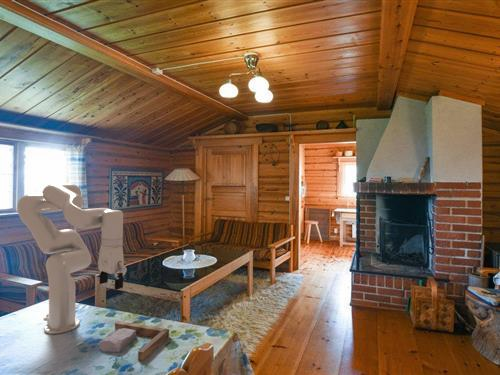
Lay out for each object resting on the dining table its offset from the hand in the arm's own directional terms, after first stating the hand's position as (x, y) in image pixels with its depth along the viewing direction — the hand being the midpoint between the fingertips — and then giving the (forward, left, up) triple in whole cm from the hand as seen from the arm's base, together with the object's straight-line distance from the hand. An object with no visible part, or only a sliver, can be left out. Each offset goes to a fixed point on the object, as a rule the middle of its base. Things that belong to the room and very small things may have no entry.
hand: (111, 285), depth 117 cm
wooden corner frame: (+8, 0, -21) cm, 23 cm away
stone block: (+4, -1, -22) cm, 22 cm away
